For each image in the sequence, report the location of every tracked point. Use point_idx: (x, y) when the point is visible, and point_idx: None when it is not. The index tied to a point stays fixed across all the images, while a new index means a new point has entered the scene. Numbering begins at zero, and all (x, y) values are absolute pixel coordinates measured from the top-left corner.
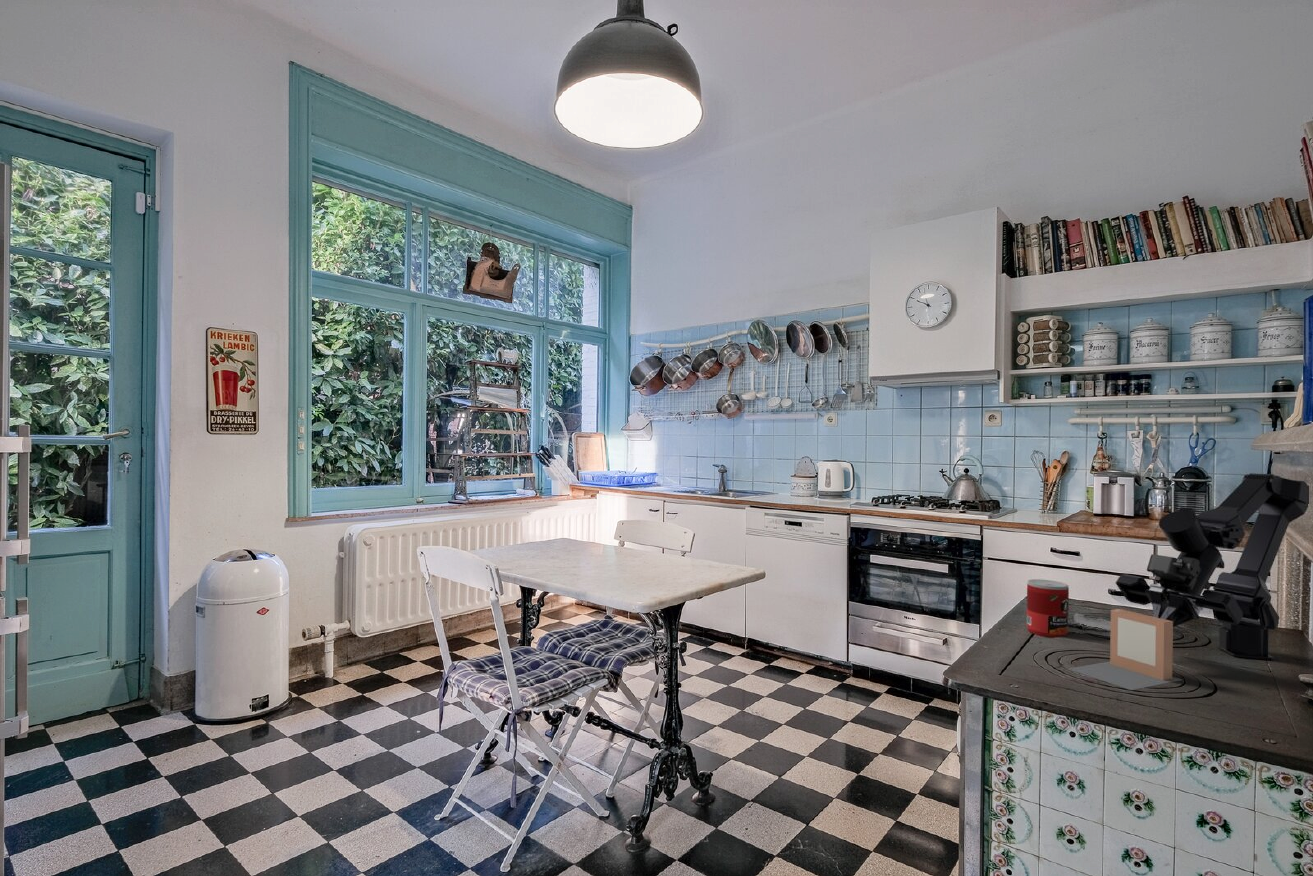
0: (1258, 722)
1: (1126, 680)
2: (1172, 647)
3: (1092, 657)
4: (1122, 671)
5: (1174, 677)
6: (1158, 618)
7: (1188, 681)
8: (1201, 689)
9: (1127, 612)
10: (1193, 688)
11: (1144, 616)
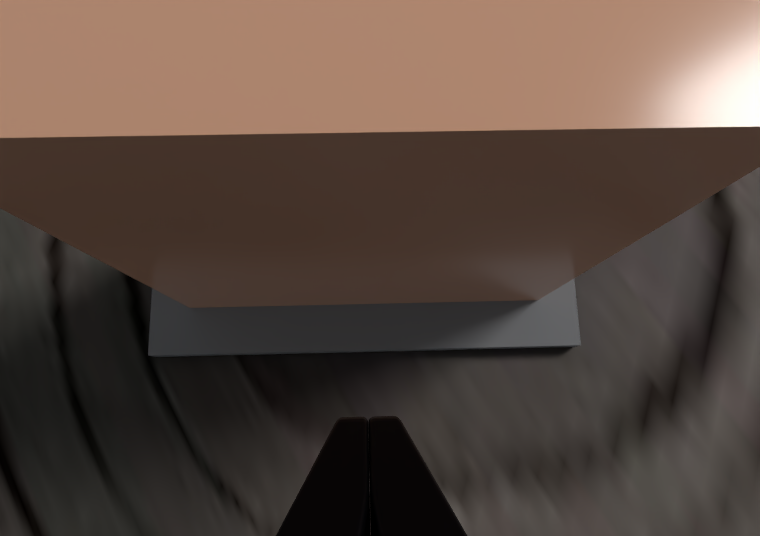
0: None
1: None
2: (92, 253)
3: (711, 298)
4: None
5: (195, 348)
6: (105, 102)
7: (154, 430)
8: (37, 343)
9: (584, 5)
10: (70, 312)
11: (289, 6)
